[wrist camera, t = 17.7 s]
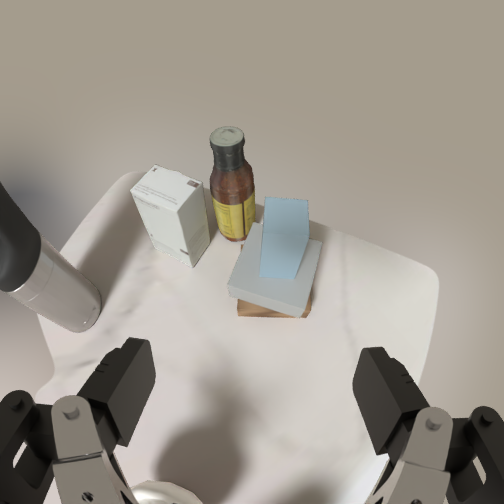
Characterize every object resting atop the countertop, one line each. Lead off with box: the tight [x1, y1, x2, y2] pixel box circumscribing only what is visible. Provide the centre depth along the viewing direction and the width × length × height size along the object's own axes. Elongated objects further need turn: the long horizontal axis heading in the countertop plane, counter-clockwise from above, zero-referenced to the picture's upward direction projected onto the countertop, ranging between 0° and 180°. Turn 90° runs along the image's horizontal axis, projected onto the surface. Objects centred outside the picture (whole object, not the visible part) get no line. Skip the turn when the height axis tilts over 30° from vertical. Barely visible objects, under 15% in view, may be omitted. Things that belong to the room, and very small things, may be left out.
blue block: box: [259, 197, 310, 279], centre depth 31 cm, size 4×4×10 cm
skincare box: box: [130, 164, 210, 268], centre depth 39 cm, size 8×6×15 cm
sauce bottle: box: [210, 127, 255, 242], centre depth 39 cm, size 6×6×20 cm
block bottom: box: [237, 245, 311, 318], centre depth 41 cm, size 10×10×4 cm
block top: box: [227, 222, 323, 318], centre depth 38 cm, size 10×10×4 cm
